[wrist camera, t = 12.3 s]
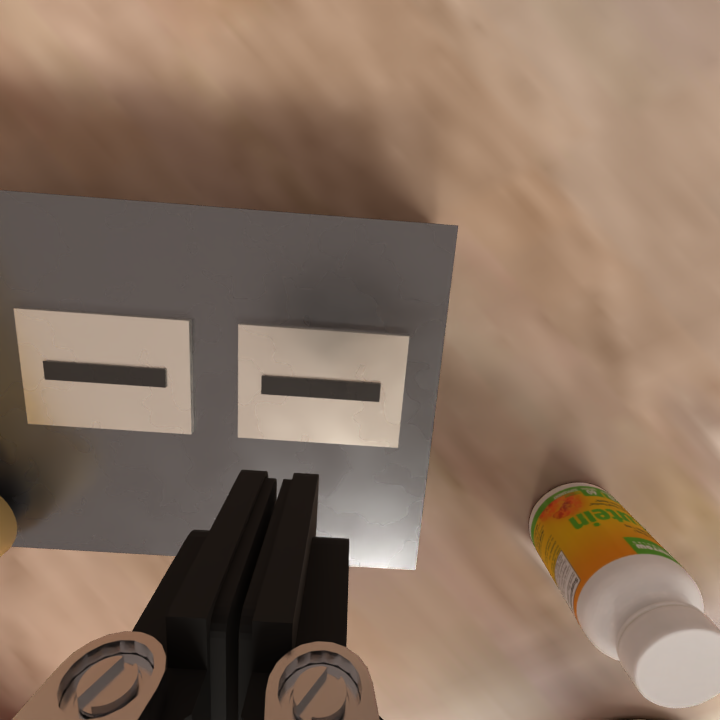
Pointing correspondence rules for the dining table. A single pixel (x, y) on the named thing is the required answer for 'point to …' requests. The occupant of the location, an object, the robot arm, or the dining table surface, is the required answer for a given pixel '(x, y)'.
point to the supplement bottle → (628, 594)
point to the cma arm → (6, 527)
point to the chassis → (215, 369)
